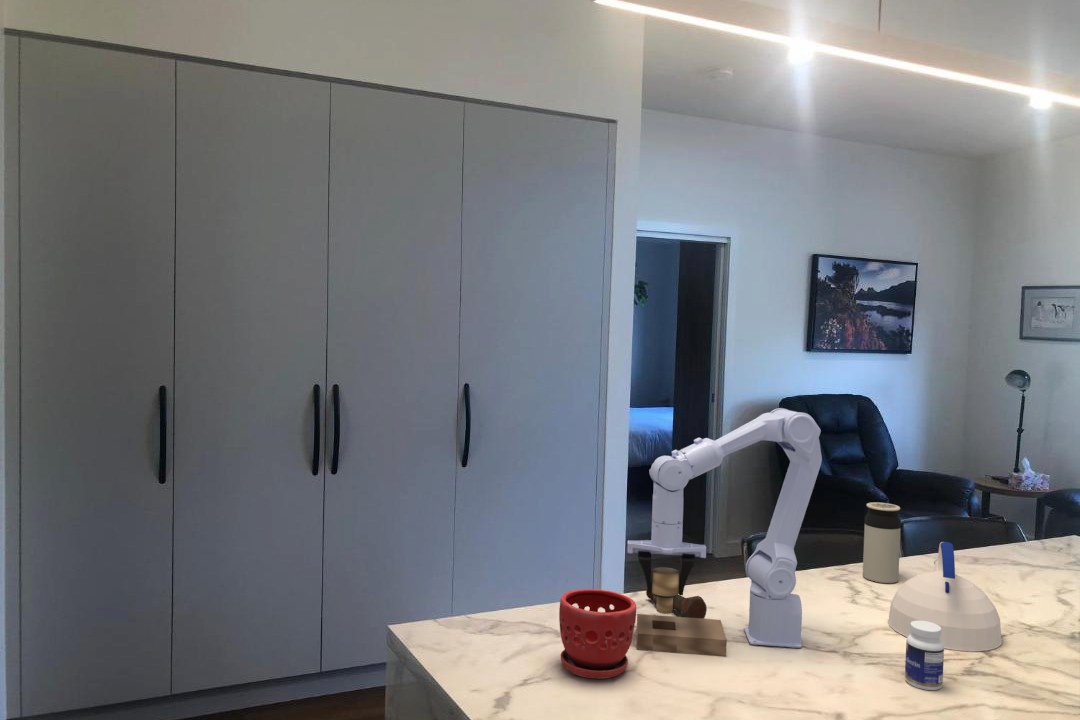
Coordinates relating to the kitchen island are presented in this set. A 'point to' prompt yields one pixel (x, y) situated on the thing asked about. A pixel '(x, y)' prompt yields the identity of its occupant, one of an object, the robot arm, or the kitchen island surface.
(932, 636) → the pill bottle
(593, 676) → the plant pot
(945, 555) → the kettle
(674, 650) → the brown flat rectangular block
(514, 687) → the kitchen island surface
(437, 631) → the kitchen island surface
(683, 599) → the bolt
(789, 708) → the kitchen island surface
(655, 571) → the oak peg
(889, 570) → the travel mug
